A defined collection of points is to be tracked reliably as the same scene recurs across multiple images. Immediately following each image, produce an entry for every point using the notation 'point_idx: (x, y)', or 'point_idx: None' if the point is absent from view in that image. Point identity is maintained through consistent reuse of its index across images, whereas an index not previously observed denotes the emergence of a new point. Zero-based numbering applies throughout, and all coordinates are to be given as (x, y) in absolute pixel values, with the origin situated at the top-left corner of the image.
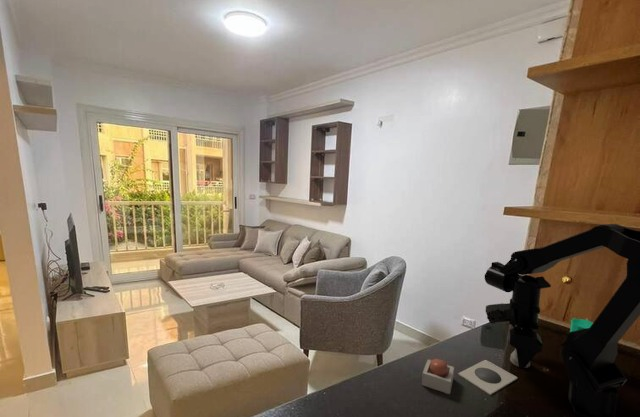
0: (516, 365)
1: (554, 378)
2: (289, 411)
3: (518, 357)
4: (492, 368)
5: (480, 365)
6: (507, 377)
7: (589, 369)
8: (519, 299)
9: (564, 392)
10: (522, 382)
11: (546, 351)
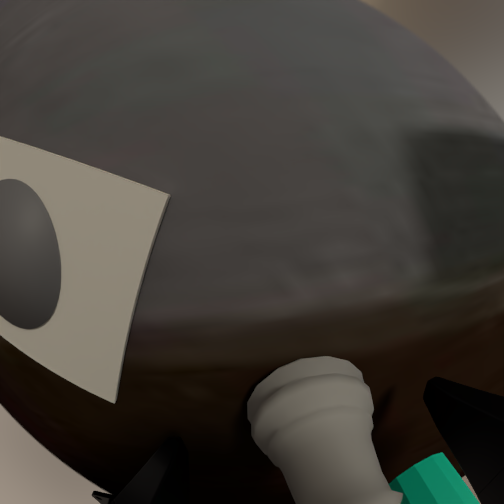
0: (254, 395)
1: (258, 485)
2: None
3: (122, 495)
4: (83, 270)
5: (62, 187)
6: (69, 358)
7: None
8: None
9: None
10: (108, 413)
11: None
